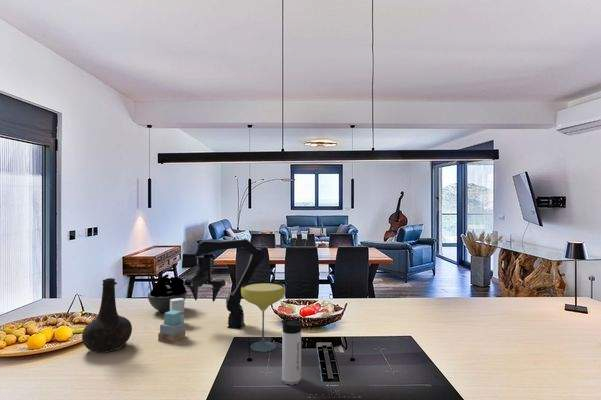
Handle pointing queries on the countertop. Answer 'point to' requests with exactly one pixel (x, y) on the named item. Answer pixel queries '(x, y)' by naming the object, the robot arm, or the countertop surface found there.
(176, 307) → the skincare box
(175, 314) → the teal cube
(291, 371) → the travel mug
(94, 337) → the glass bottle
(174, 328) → the slate slab
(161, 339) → the walnut slab
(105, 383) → the countertop surface
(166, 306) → the coal bowl
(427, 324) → the countertop surface
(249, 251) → the robot arm
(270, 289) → the cocktail glass
